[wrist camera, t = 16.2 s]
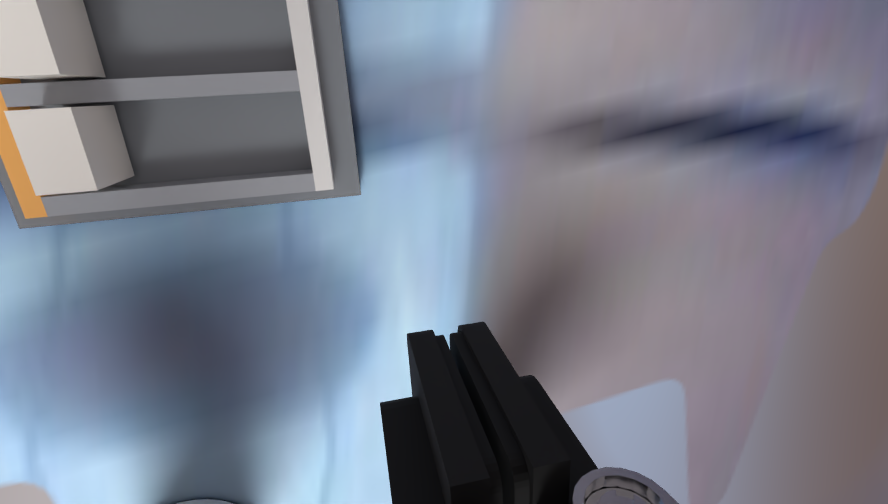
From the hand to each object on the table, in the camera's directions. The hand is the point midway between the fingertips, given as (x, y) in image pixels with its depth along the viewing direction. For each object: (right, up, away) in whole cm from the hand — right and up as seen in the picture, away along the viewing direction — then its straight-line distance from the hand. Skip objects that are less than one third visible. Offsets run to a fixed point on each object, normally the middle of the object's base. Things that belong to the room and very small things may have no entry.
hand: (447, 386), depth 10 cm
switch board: (-18, +14, +20) cm, 30 cm away
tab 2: (-22, +10, +18) cm, 30 cm away
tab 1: (-22, +15, +16) cm, 32 cm away
